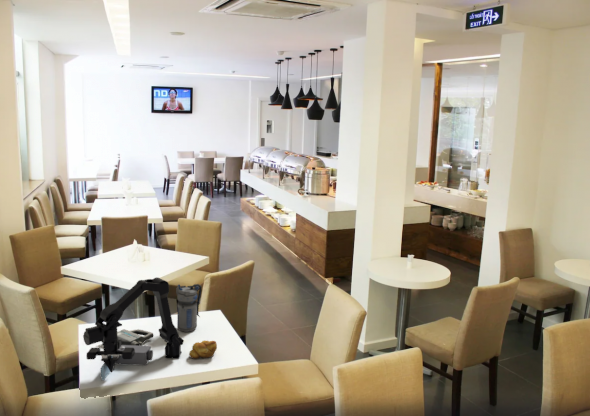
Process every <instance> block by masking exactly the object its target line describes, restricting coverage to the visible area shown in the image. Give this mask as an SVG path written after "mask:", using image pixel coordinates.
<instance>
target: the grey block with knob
mask: <svg viewBox="0 0 590 416" xmlns="http://www.w3.org/2000/svg"><path fill="white" fill-rule="evenodd" d="M125 348H134V349H135V354H134V356H133V357H132V359H123V358H122V355H121V356H120V358H119V359H118V361H116V364H115V365H130V366H133V365H134V366H147V364H148V363H149V361H152V360H153V357H154V351H153V349H151V346H150V345H139V346H137V345H121V346H120V349H118V350H121V351H124V349H125Z"/></svg>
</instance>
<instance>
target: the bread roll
mask: <svg viewBox="0 0 590 416" xmlns="http://www.w3.org/2000/svg"><path fill="white" fill-rule="evenodd" d="M191 347H192V349H191V350H190V351H189V354H188V355H189V358H191V359H195V360H197V359H207V358H208V359H209V358H212V357H213V356H214V355H215V354H216V351H217V348H218V344H217V341H215V340H202V341H200V342H199V341H197V342H195V343H193V345H192V346H191Z"/></svg>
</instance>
